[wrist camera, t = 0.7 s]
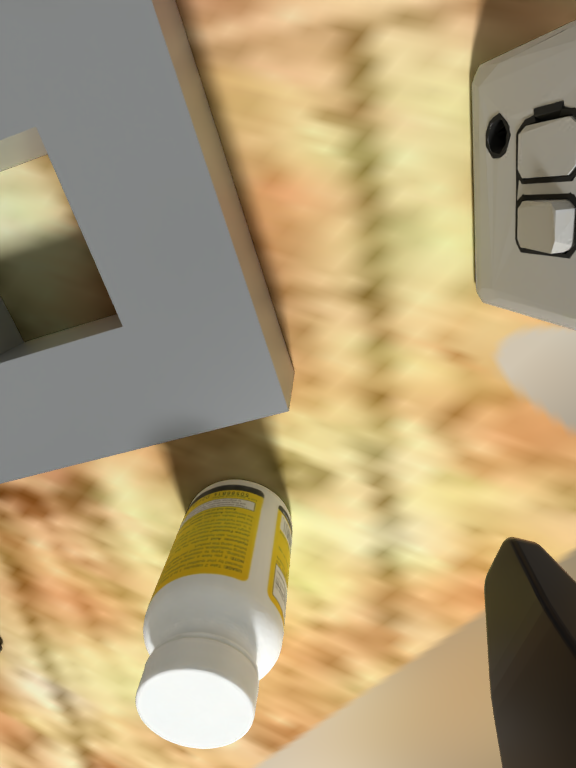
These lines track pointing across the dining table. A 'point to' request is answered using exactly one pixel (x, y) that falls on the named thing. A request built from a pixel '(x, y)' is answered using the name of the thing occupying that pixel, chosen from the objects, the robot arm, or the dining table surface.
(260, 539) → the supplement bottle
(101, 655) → the dining table surface
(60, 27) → the socket block
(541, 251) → the electrical switch
